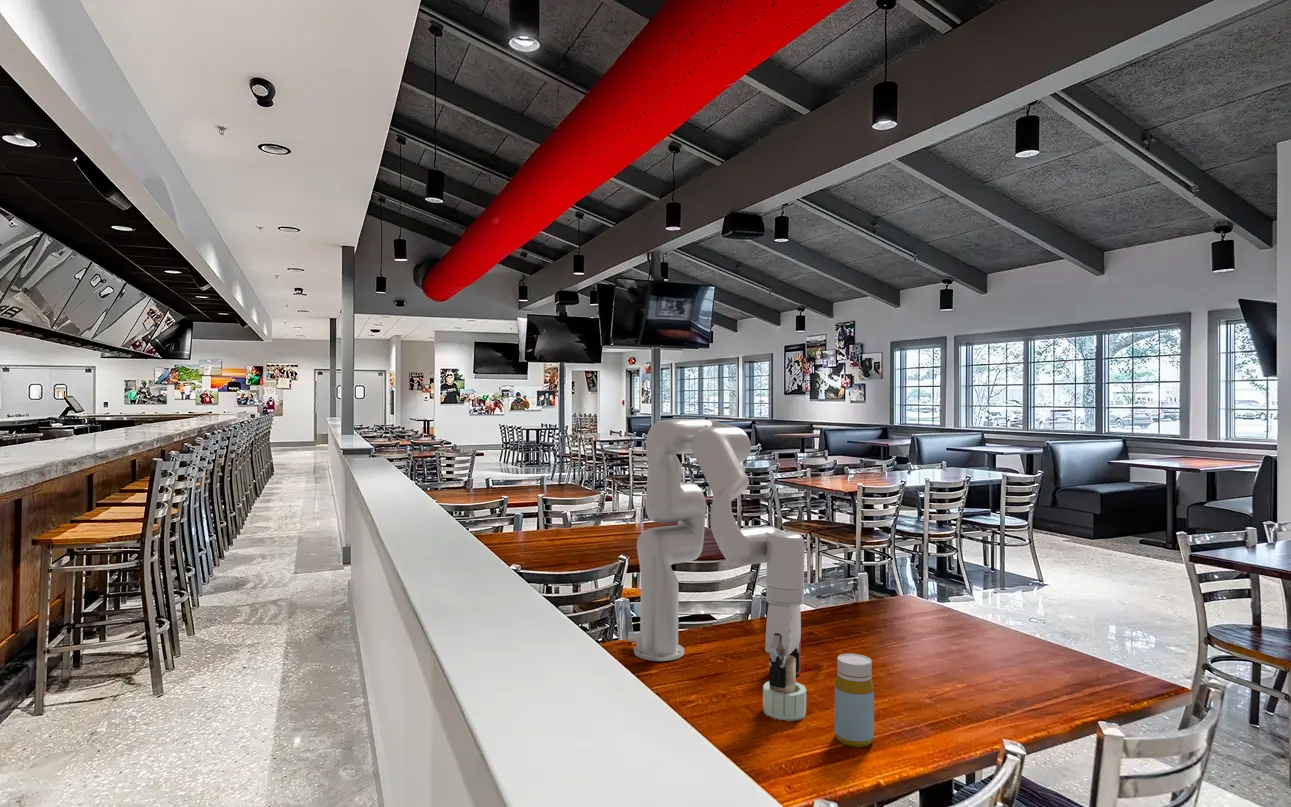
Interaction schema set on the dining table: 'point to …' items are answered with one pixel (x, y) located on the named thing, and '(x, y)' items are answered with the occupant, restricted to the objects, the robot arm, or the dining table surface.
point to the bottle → (854, 701)
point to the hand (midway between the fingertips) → (784, 678)
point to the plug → (788, 675)
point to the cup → (784, 703)
